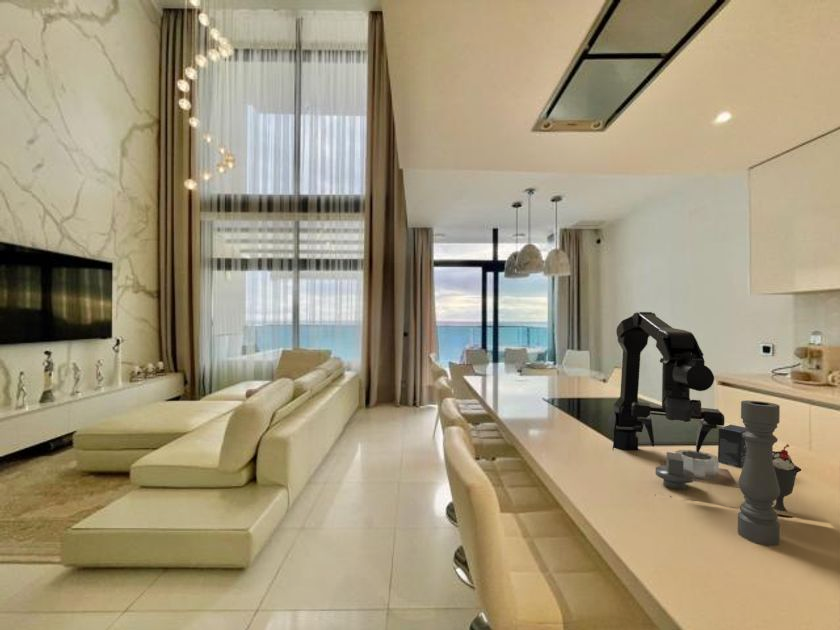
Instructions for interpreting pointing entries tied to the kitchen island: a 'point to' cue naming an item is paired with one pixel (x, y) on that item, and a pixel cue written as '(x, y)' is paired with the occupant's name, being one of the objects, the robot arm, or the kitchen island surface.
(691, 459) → the toothed hollow cylinder
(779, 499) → the sundae
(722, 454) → the box
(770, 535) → the candle holder
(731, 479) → the stand
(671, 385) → the robot arm
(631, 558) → the kitchen island surface
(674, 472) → the lens cap
